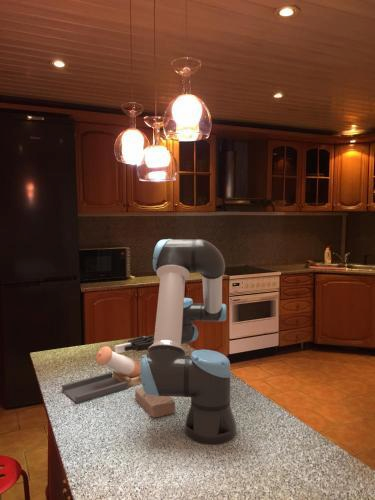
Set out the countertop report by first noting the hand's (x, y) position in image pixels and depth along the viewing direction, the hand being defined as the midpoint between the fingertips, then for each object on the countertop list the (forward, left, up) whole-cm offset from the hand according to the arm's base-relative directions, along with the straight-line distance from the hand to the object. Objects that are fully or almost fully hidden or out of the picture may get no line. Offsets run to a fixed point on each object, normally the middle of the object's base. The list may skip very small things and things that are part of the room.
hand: (115, 349), depth 152 cm
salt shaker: (+7, -5, -10) cm, 13 cm away
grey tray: (-8, +5, -13) cm, 16 cm away
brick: (-13, -21, -14) cm, 28 cm away
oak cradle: (+5, -4, -13) cm, 15 cm away
